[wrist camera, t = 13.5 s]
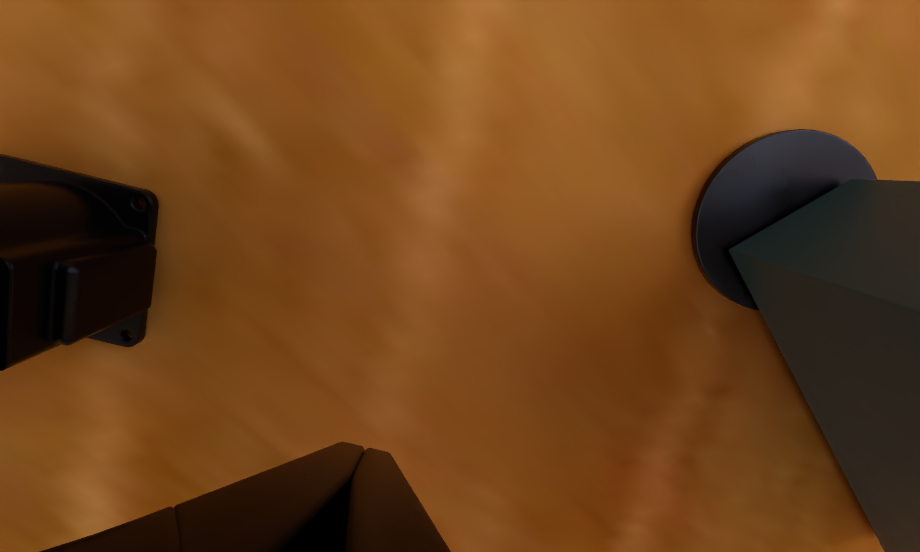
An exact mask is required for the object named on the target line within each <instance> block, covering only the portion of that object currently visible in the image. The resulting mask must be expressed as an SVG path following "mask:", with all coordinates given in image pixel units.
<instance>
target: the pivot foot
mask: <svg viewBox="0 0 920 552" xmlns="http://www.w3.org/2000/svg"><path fill="white" fill-rule="evenodd" d="M851 179H867V180H877V178H876V176H875V174H874V172H873V170H872V168H871V166H870V164H869V163H868V162H867V160H866V159H865V157H864V156H863V155H862V154H861V153H860V152H859V151H858V150H857V149H856V148H854V147H853V146H852V145H850V144H849V143H848V142H846V141H844V140H843V139H841V138H839V137H837V136H834V135H831V134H829V133H826V132H821V131H816V130H804V129H799V130H787V131H780V132H776V133H771V134H768V135H765V136H762V137H759V138H757V139H755V140H753V141H751V142H749V143H747V144H745V145H744V146H742V147H741V148H739V149H738V150H736V151H735V152H733V153H732V154H731V155H730V156H729V157H727V158H726V159H725V160H724V161H723V162H722V163H721V164H720V165H719V166H718V167H717V169H716V170H715V171H714V172H713V174H712V175H711V176H710V178H709V179H708V181H707V183H706V184H705V186H704V188H703V189H702V191H701V194H700V196H699V198H698V201H697V204H696V207H695V211H694V215H693V221H692V244H693V250H694V254H695V258H696V261H697V263H698V265H699V268H700V270H701V271H702V273H703V275H704V276H705V278H706V279H707V280H708V282H709V283H710V284H711V285H712V286H713V287H714V288H715V289H716V290H717V291H718V292H719V293H720V294H722V295H723V296H725V297H726V298H728V299H730V300H732V301H734V302H736V303H738V304H740V305H742V306H745V307H748V308H751V309H755V310H759V308H758V307H757V305H756V303H755V301H754V299H753V297H752V295H751V293H750V291H749V289H748V287H747V285H746V283H745V282H744V280H743V278H742V276H741V274H740V272H739V270H738V268H737V266H736V264H735V262H734V260H733V258H732V256H731V255H730V253H729V249H730V248H732V247H734V246H736V245H737V244H739V243H741V242H743V241H744V240H746V239H748V238H750V237H751V236H753V235H755V234H757V233H758V232H760V231H762V230H764V229H765V228H767V227H769V226H771V225H772V224H774V223H776V222H778V221H779V220H781V219H783V218H784V217H786V216H788V215H790V214H791V213H793V212H795V211H797V210H798V209H800V208H802V207H804V206H805V205H807V204H809V203H811V202H812V201H814V200H816V199H818V198H819V197H821V196H823V195H825V194H826V193H828V192H830V191H832V190H833V189H835V188H837V187H838V186H840V185H842V184H844V183H845V182H847V181H849V180H851Z"/></svg>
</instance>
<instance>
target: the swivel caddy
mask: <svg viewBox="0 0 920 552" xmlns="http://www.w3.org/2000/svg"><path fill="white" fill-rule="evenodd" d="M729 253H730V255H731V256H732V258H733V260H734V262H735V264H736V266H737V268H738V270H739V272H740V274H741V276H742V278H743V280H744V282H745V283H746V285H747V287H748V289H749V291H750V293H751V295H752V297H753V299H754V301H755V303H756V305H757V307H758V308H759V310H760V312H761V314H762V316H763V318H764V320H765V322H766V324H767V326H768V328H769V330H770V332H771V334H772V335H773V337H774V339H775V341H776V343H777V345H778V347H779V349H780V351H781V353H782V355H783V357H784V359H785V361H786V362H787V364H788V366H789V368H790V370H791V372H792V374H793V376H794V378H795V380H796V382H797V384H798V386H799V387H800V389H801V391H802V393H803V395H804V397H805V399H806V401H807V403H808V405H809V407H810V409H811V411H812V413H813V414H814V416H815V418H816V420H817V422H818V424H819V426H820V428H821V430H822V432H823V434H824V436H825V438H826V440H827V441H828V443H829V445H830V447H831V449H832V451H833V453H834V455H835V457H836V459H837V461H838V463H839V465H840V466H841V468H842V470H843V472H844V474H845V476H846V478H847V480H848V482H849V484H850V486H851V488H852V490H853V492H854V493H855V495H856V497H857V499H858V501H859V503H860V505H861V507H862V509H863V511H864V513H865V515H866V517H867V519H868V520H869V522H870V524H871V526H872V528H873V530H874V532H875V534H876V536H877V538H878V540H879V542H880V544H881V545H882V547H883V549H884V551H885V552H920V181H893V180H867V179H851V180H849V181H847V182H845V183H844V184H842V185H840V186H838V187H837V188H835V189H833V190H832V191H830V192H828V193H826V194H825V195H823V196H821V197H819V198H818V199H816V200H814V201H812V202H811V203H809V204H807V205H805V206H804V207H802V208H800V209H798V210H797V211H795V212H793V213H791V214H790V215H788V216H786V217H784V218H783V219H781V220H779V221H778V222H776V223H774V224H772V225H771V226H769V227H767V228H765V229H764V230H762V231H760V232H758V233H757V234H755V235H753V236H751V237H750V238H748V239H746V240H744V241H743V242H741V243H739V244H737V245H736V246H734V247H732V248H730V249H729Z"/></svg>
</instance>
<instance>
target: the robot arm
mask: <svg viewBox="0 0 920 552" xmlns="http://www.w3.org/2000/svg"><path fill="white" fill-rule="evenodd" d="M140 198H143V199H144V200H145V203H146V206H145V208H142V207H141V205H140V203H139V200H140ZM158 207H159V205H158V199H157V197H156V196H155V195H154V194H153V193H152V192H151V191H148V190H146V189H142V188H138V187H133V186H129V185H125V184H121V183H117V182H113V181H109V180H105V179H101V178H97V177H93V176H89V175H85V174H81V173H77V172H73V171H69V170H65V169H61V168H57V167H53V166H49V165H45V164H41V163H37V162H33V161H28V160H24V159H20V158H16V157H12V156H8V155H4V154H0V371H3V370H5V369H7V368H9V367H12V366H14V365H16V364H18V363H21V362H23V361H25V360H27V359H30V358H32V357H34V356H36V355H39V354H41V353H43V352H45V351H48V350H50V349H52V348H54V347H57V346H59V345H61V344H62V345H66V346H67V345H71V344H73V343H76V342H78V341H80V340H82V339H84V338H90V339H94V340H98V341H103V342H107V343H111V344H115V345H120V346H124V347H131V346H134V345H136V344H138V343H140V342H141V341H142V340H143V339H144V336H145V330H146V320H147V311H148V308H150V306H151V300H152V291H153V282H154V272H155V263H156V253H157V250H156V248H155V246H154V245H155V235H156V226H157V216H158ZM127 330H128V331H130V332H131V333H132V336H133V337H132V338H131V337H129V335H128V334H127ZM364 451H365V452H364ZM40 552H451V551H450V550H449V548H448V546H447V545H446V543H445V542H444V540H443V538H442V537H441V535H440V533H439V532H438V530H437V529H436V527H435V525H434V524H433V522H432V520H431V519H430V517H429V516H428V514H427V512H426V511H425V509H424V507H423V506H422V504H421V503H420V501H419V499H418V498H417V496H416V495H415V493H414V491H413V490H412V488H411V486H410V485H409V483H408V482H407V480H406V478H405V477H404V475H403V473H402V472H401V470H400V469H399V467H398V465H397V464H396V462H395V460H394V459H393V457H392V456H391V454H390V453H389V452H385V451H381V450H377V449H372V448H367V449H366V450H364V448H363V447H362V446H359V445H355V444H351V443H346V442H340V443H337V444H334V445H332V446H329V447H326V448H324V449H321V450H319V451H316V452H313V453H311V454H308V455H306V456H303V457H300V458H298V459H295V460H293V461H290V462H287V463H285V464H282V465H280V466H277V467H274V468H272V469H269V470H267V471H264V472H261V473H259V474H256V475H254V476H251V477H248V478H246V479H243V480H241V481H238V482H235V483H233V484H230V485H227V486H225V487H222V488H220V489H217V490H214V491H212V492H209V493H207V494H204V495H201V496H199V497H196V498H193V499H191V500H188V501H186V502H183V503H180V504H178V505H176V506H175V507H174V508H173V507H167V508H165V509H162V510H159V511H157V512H154V513H151V514H149V515H146V516H144V517H141V518H138V519H135V520H133V521H130V522H127V523H124V524H121V525H119V526H116V527H113V528H110V529H107V530H105V531H102V532H99V533H96V534H93V535H90V536H87V537H84V538H81V539H78V540H75V541H72V542H69V543H65V544H62V545H59V546H56V547H53V548H50V549H47V550H43V551H40Z"/></svg>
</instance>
